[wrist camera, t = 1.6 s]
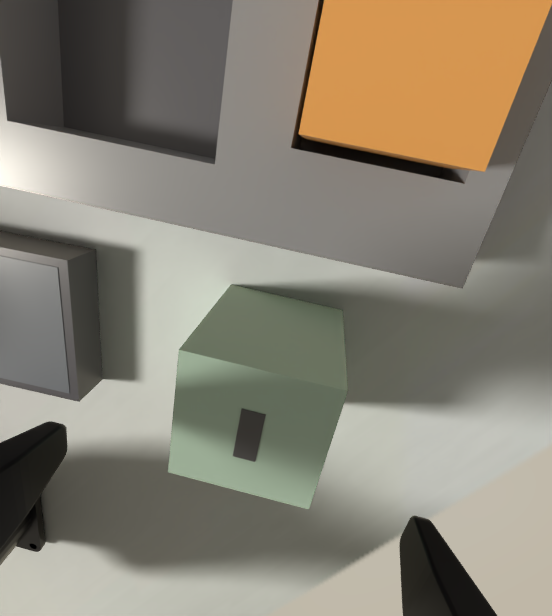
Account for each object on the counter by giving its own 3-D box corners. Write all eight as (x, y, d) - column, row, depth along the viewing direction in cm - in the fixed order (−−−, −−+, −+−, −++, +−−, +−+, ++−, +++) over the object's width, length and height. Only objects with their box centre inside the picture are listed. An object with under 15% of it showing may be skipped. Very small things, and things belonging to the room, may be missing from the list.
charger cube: (316, 400, 16) (308, 510, 11) (217, 376, 17) (167, 473, 11) (342, 309, 14) (347, 391, 9) (231, 284, 15) (178, 350, 10)
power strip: (580, -118, 9) (866, -436, 4) (435, 260, 13) (495, 322, 8) (-269, -250, 10) (-790, -601, 6) (-163, 129, 14) (-412, 116, 10)
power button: (510, -11, 8) (586, -84, 6) (446, 168, 10) (485, 171, 8) (343, -40, 9) (347, -122, 6) (306, 139, 10) (298, 133, 8)
